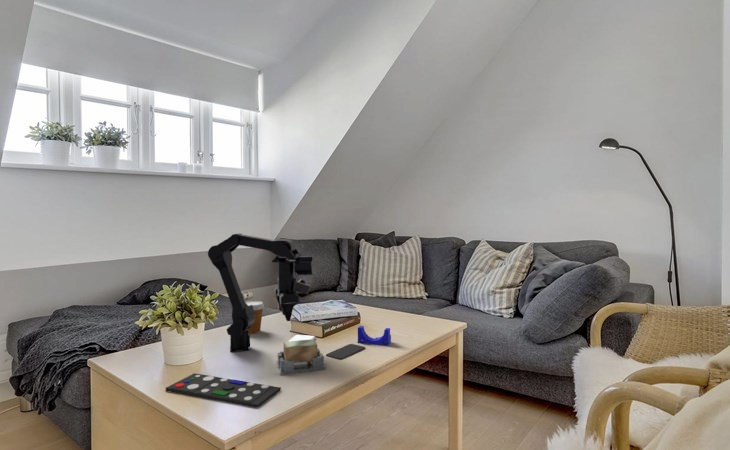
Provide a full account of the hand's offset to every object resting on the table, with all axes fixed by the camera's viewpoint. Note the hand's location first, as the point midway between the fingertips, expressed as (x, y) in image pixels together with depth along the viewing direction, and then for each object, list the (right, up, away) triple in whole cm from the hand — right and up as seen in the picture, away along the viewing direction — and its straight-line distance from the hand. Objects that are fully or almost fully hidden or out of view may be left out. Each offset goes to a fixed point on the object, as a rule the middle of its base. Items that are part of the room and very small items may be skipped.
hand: (286, 317), depth 151 cm
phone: (+21, -13, -1) cm, 25 cm away
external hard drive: (+3, -13, +10) cm, 16 cm away
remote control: (-12, -14, -33) cm, 38 cm away
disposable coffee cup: (-19, -11, +25) cm, 33 cm away
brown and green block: (+7, -10, -15) cm, 19 cm away
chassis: (+7, -13, -15) cm, 21 cm away
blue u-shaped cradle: (+32, -12, +10) cm, 36 cm away
